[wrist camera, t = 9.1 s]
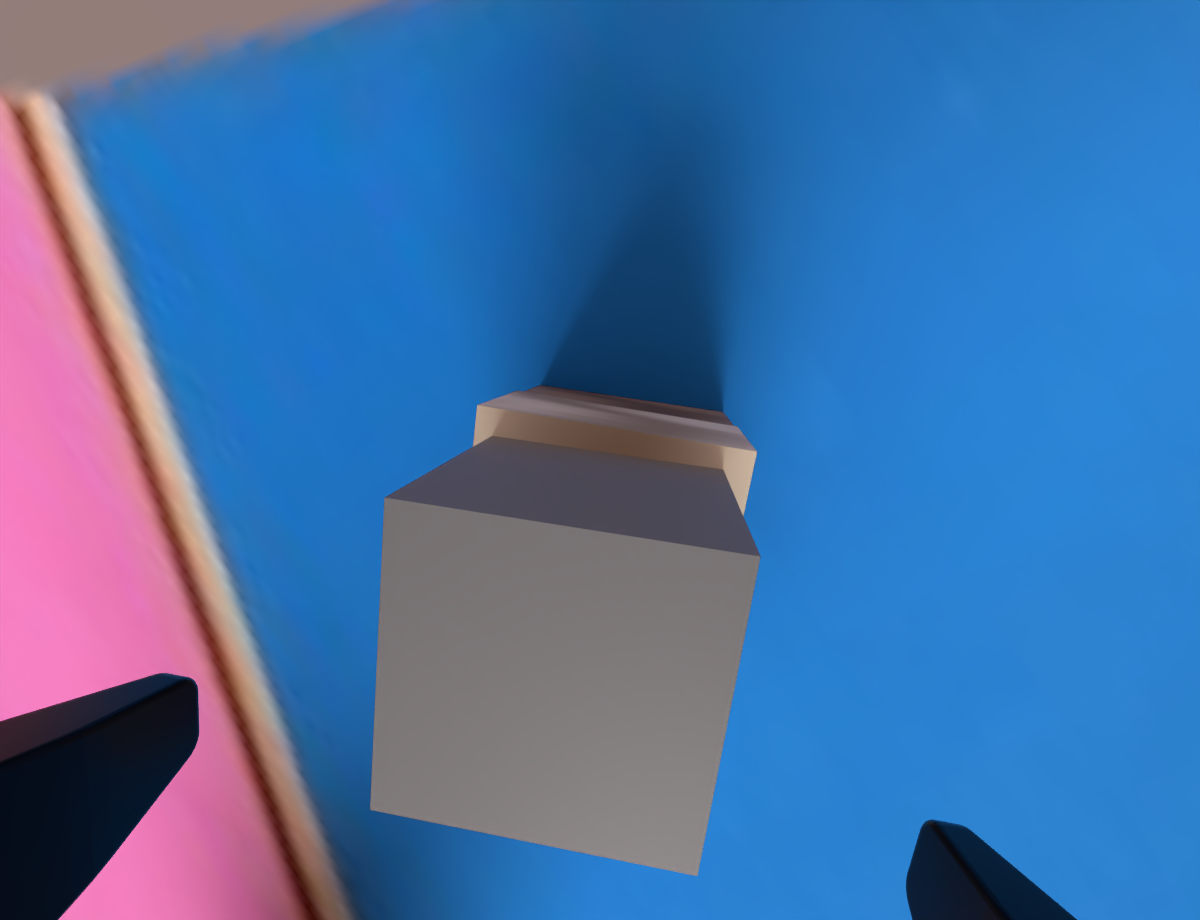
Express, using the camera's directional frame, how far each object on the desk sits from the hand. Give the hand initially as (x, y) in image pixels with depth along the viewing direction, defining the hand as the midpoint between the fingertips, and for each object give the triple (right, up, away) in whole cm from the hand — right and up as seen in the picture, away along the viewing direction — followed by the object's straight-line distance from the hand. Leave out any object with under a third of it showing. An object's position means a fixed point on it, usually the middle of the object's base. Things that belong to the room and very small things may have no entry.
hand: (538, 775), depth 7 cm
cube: (+1, +2, +6) cm, 6 cm away
